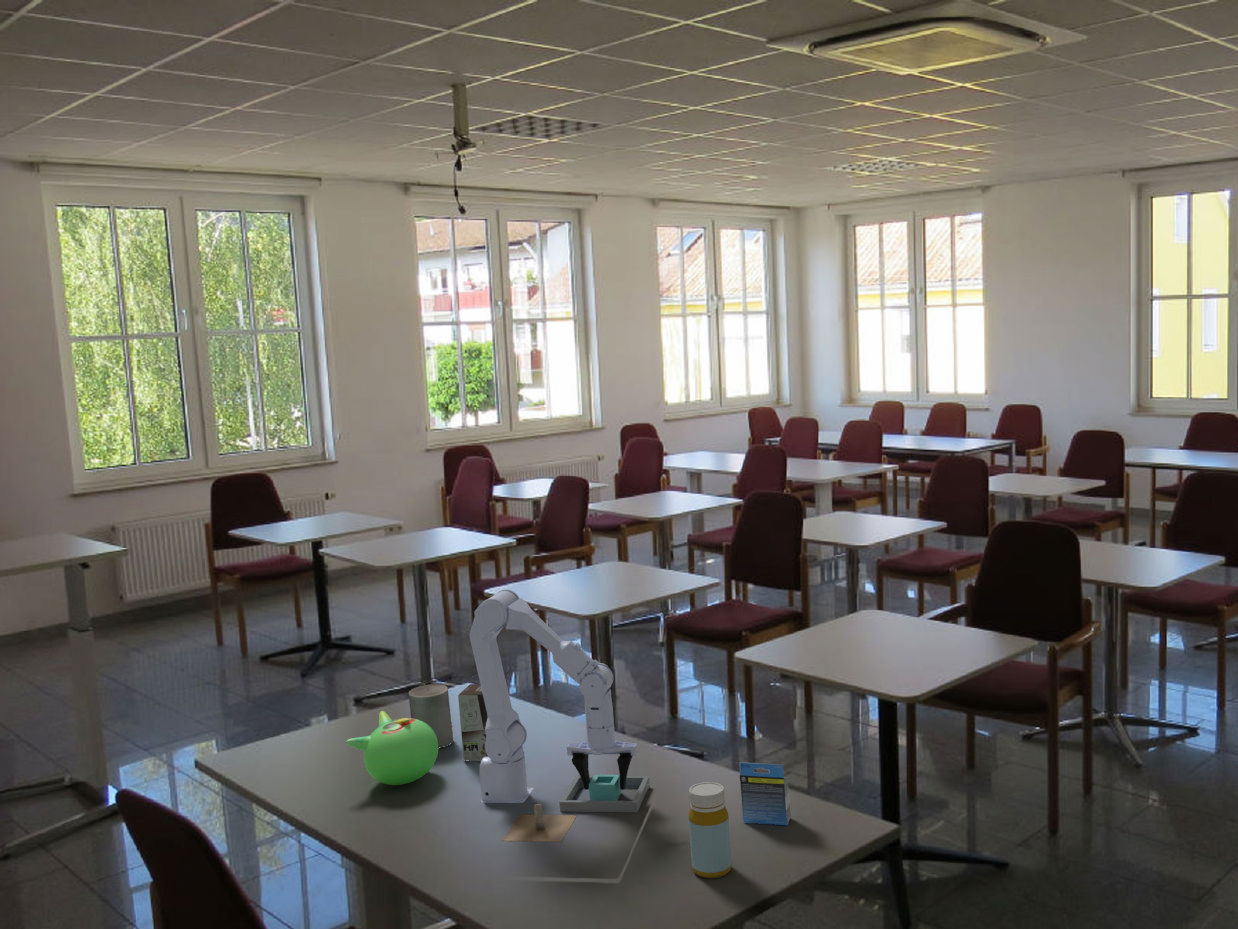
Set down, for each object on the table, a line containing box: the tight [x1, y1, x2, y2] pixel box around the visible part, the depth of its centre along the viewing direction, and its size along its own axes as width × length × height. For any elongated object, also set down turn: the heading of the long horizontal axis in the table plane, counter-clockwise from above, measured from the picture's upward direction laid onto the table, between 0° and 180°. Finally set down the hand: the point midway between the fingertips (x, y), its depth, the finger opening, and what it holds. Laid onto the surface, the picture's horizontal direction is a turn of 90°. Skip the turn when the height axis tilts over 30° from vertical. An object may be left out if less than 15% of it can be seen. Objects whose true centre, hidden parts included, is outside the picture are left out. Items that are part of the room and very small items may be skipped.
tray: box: [559, 775, 651, 813], centre depth 235 cm, size 16×14×2 cm
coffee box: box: [457, 683, 488, 762], centre depth 267 cm, size 9×6×16 cm
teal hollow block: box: [588, 774, 622, 801], centre depth 235 cm, size 5×7×4 cm
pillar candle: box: [408, 683, 454, 748], centre depth 277 cm, size 10×10×15 cm
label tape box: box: [739, 761, 792, 826], centre depth 218 cm, size 9×4×12 cm, turn 71°
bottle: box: [688, 781, 733, 879], centre depth 199 cm, size 7×7×15 cm
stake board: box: [501, 803, 578, 843], centre depth 222 cm, size 12×12×5 cm
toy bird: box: [345, 710, 439, 786], centre depth 254 cm, size 18×17×15 cm
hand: (605, 788), depth 235 cm, fingers open, 7 cm apart
